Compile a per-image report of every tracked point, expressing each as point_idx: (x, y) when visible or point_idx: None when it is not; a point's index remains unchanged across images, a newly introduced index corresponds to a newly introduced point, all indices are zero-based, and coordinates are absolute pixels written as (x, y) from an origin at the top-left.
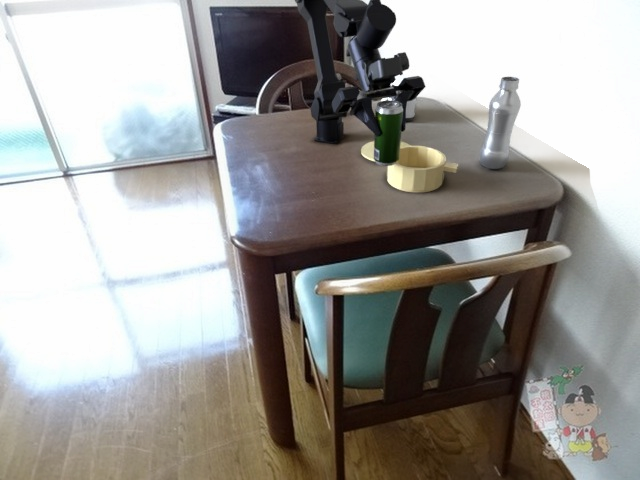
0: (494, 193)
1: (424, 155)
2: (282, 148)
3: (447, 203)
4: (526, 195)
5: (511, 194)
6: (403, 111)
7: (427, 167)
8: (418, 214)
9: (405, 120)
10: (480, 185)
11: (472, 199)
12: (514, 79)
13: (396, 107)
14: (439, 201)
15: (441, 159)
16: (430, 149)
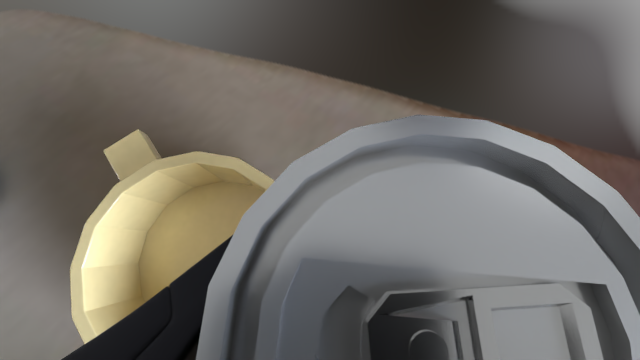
0: (113, 79)
1: (114, 313)
2: None
3: (248, 104)
4: (64, 35)
5: (86, 55)
6: (185, 301)
7: (138, 289)
8: (346, 102)
9: (227, 240)
10: (103, 127)
11: (182, 86)
12: None
13: (412, 167)
14: (257, 122)
15: (116, 215)
16: (85, 297)
